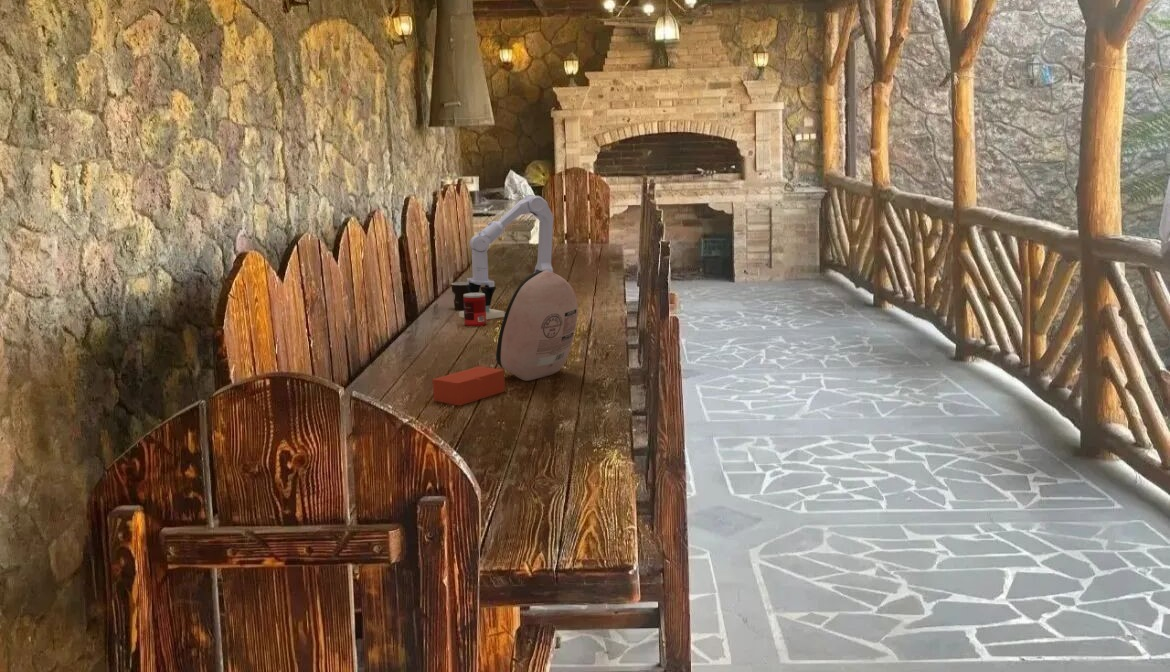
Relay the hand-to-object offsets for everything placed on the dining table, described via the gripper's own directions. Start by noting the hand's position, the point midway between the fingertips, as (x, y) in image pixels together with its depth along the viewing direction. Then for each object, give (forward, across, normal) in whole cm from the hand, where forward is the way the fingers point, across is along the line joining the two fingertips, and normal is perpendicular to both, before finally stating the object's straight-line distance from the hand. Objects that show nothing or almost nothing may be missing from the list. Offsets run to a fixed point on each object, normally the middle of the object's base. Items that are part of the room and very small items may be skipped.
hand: (481, 304), depth 392 cm
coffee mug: (+5, -21, +6) cm, 23 cm away
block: (+3, 0, 0) cm, 3 cm away
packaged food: (+5, +93, -48) cm, 105 cm away
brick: (+5, +97, -74) cm, 121 cm away
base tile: (+5, 0, 0) cm, 5 cm away
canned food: (+5, +12, -12) cm, 17 cm away
